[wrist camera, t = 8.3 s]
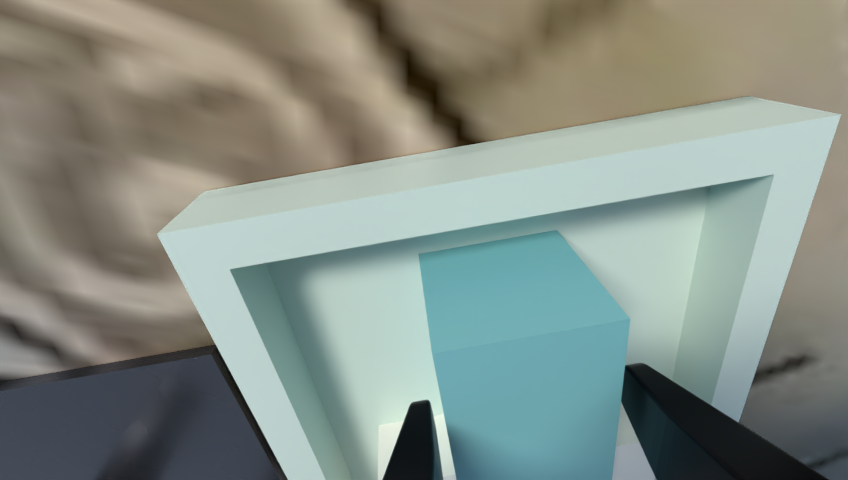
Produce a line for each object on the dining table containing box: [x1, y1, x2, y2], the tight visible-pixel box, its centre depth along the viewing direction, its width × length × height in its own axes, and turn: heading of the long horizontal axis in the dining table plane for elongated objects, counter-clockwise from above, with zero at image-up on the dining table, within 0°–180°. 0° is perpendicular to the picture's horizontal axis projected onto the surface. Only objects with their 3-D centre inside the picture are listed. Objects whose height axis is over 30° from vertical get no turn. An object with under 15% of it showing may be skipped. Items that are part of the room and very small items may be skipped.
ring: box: [378, 230, 655, 480], centre depth 12 cm, size 14×8×4 cm, turn 9°
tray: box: [157, 96, 841, 480], centre depth 13 cm, size 19×13×2 cm
